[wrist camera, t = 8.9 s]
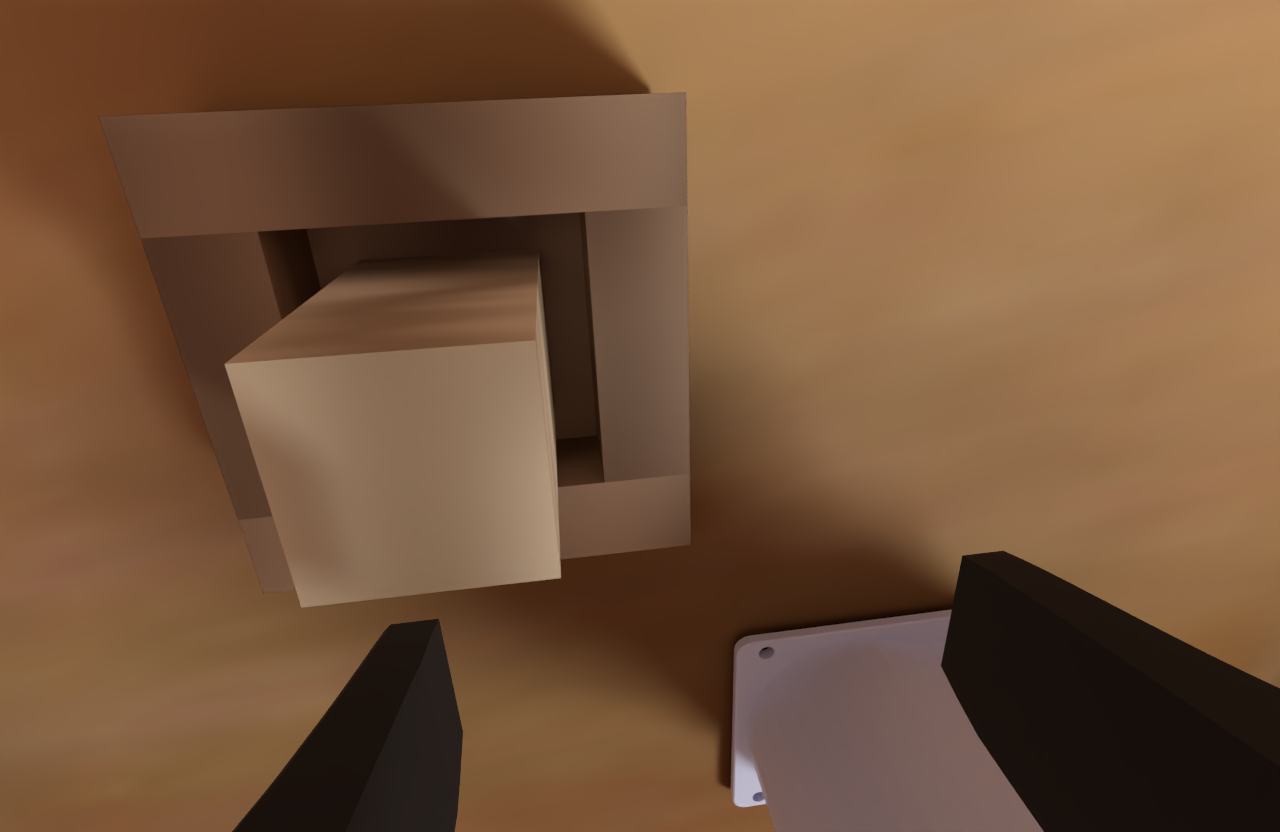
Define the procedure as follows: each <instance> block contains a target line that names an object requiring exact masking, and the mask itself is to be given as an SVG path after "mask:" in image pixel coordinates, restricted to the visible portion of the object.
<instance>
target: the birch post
mask: <svg viewBox="0 0 1280 832" xmlns="http://www.w3.org/2000/svg"><path fill="white" fill-rule="evenodd" d="M225 367H226V370H227V374H228V377H229V380H230V383H231V386H232V389H233V393H234V396H235V399H236V402H237V405H238V408H239V412H240V415H241V418H242V421H243V424H244V427H245V430H246V434H247V437H248V440H249V443H250V446H251V449H252V453H253V456H254V459H255V462H256V465H257V468H258V472H259V475H260V478H261V481H262V484H263V487H264V490H265V494H266V497H267V500H268V503H269V506H270V509H271V513H272V516H273V519H274V522H275V525H276V528H277V532H278V535H279V538H280V541H281V544H282V547H283V550H284V554H285V557H286V560H287V563H288V566H289V569H290V573H291V576H292V579H293V582H294V585H295V588H296V592H297V595H298V598H299V601H300V604H301V607H302V608H303V607H312V606H321V605H330V604H338V603H347V602H356V601H365V600H373V599H382V598H391V597H400V596H408V595H417V594H426V593H435V592H444V591H452V590H461V589H470V588H479V587H487V586H496V585H505V584H514V583H522V582H531V581H540V580H549V579H557V578H561V563H560V536H559V510H558V484H557V457H556V431H555V406H554V396H553V386H552V376H551V366H550V356H549V346H548V336H547V326H546V316H545V306H544V296H543V286H542V276H541V266H540V256H539V249H530V250H514V251H498V252H482V253H466V254H449V255H433V256H417V257H401V258H385V259H369V260H360V261H358V262H357V263H356V264H354V265H353V266H352V267H350V268H349V269H348V270H347V271H345V272H344V273H343V274H341V275H340V276H339V277H337V278H336V279H335V280H333V281H332V282H331V283H330V284H328V285H327V286H326V287H324V288H323V289H322V290H320V291H319V292H318V293H316V294H315V295H314V296H313V297H311V298H310V299H309V300H307V301H306V302H305V303H303V304H302V305H301V306H300V307H298V308H297V309H296V310H294V311H293V312H292V313H290V314H289V315H288V316H286V317H285V318H284V319H283V320H281V321H280V322H279V323H277V324H276V325H275V326H273V327H272V328H271V329H269V330H268V331H267V332H266V333H264V334H263V335H262V336H260V337H259V338H258V339H256V340H255V341H254V342H252V343H251V344H250V345H249V346H247V347H246V348H245V349H243V350H242V351H241V352H239V353H238V354H237V355H236V356H234V357H233V358H232V359H230V360H229V361H228V362H226V363H225Z"/></svg>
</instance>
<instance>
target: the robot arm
mask: <svg viewBox="0 0 1280 832" xmlns="http://www.w3.org/2000/svg"><path fill="white" fill-rule="evenodd" d="M765 647H769V648H767V649H766V650H761V649H763V648H765ZM462 738H463V730H462V726H461V721H460V716H459V712H458V707H457V702H456V698H455V693H454V688H453V684H452V679H451V674H450V670H449V665H448V660H447V655H446V651H445V646H444V641H443V637H442V632H441V627H440V623H439V619H433V620H425V621H417V622H409V623H400V624H392V625H390V626H389V627H388V628H387V629H386V630H385V631H384V632H383V634H382V635H381V636H380V638H379V639H378V641H377V642H376V643H375V645H374V646H373V648H372V649H371V650H370V652H369V653H368V655H367V656H366V658H365V659H364V660H363V662H362V663H361V665H360V666H359V667H358V669H357V670H356V672H355V673H354V675H353V676H352V677H351V679H350V680H349V682H348V683H347V684H346V686H345V687H344V689H343V690H342V691H341V693H340V694H339V695H338V697H337V698H336V699H335V701H334V702H333V704H332V705H331V706H330V708H329V709H328V710H327V712H326V713H325V715H324V716H323V717H322V719H321V720H320V721H319V723H318V724H317V725H316V727H315V728H314V729H313V730H312V732H311V733H310V734H309V736H308V737H307V738H306V740H305V741H304V742H303V744H302V745H301V746H300V748H299V749H298V750H297V751H296V753H295V754H294V755H293V757H292V758H291V759H290V761H289V762H288V763H287V765H286V766H285V767H284V769H283V770H282V771H281V772H280V774H279V775H278V776H277V778H276V779H275V780H274V781H273V783H272V784H271V785H270V786H269V788H268V789H267V790H266V791H265V793H264V794H263V795H262V796H261V798H260V799H259V800H258V801H257V802H256V804H255V805H254V806H253V807H252V808H251V810H250V811H249V812H248V813H247V814H246V816H245V817H244V818H243V819H242V821H241V822H240V823H239V824H238V825H237V827H236V828H235V829H234V830H233V831H232V832H454V831H455V825H456V819H457V812H458V798H459V785H460V771H461V754H462ZM731 795H732V799H733V802H734V804H735V805H737V806H740V807H748V806H755V805H761V804H767V807H768V810H769V813H770V817H771V820H772V823H773V826H774V829H775V832H1280V688H1278V687H1275V686H1273V685H1271V684H1269V683H1267V682H1265V681H1263V680H1261V679H1258V678H1256V677H1254V676H1252V675H1250V674H1248V673H1246V672H1244V671H1241V670H1239V669H1237V668H1235V667H1233V666H1231V665H1229V664H1227V663H1225V662H1223V661H1221V660H1219V659H1217V658H1215V657H1213V656H1211V655H1209V654H1207V653H1205V652H1203V651H1201V650H1199V649H1197V648H1195V647H1193V646H1191V645H1189V644H1187V643H1185V642H1183V641H1181V640H1179V639H1177V638H1175V637H1173V636H1171V635H1169V634H1167V633H1165V632H1163V631H1161V630H1160V629H1158V628H1156V627H1154V626H1152V625H1150V624H1148V623H1146V622H1144V621H1142V620H1140V619H1138V618H1136V617H1134V616H1132V615H1130V614H1129V613H1127V612H1125V611H1123V610H1121V609H1119V608H1117V607H1115V606H1113V605H1111V604H1109V603H1107V602H1105V601H1104V600H1102V599H1100V598H1098V597H1096V596H1094V595H1092V594H1090V593H1088V592H1086V591H1084V590H1082V589H1080V588H1079V587H1077V586H1075V585H1073V584H1071V583H1069V582H1067V581H1065V580H1063V579H1061V578H1059V577H1057V576H1055V575H1053V574H1051V573H1049V572H1047V571H1045V570H1043V569H1041V568H1039V567H1037V566H1035V565H1033V564H1031V563H1029V562H1027V561H1025V560H1023V559H1020V558H1018V557H1016V556H1014V555H1011V554H1009V553H1007V552H1005V551H998V552H990V553H981V554H973V555H965V556H962V561H961V566H960V571H959V576H958V581H957V586H956V591H955V596H954V601H953V606H952V610H944V611H936V612H928V613H921V614H913V615H905V616H898V617H890V618H882V619H874V620H867V621H859V622H851V623H843V624H836V625H828V626H820V627H812V628H805V629H797V630H789V631H781V632H774V633H766V634H758V635H751V636H746V637H743V638H742V639H740V640H739V641H738V642H737V643H736V644H735V648H734V673H733V715H732V756H731Z"/></svg>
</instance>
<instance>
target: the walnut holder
mask: <svg viewBox="0 0 1280 832" xmlns="http://www.w3.org/2000/svg"><path fill="white" fill-rule="evenodd" d="M98 117H99V120H100V123H101V126H102V129H103V132H104V134H105V137H106V140H107V143H108V146H109V149H110V152H111V155H112V157H113V160H114V163H115V166H116V169H117V172H118V175H119V178H120V181H121V183H122V186H123V189H124V192H125V195H126V198H127V201H128V204H129V206H130V209H131V212H132V215H133V218H134V221H135V224H136V227H137V230H138V232H139V235H140V238H141V241H142V244H143V247H144V250H145V253H146V256H147V258H148V261H149V264H150V267H151V270H152V273H153V276H154V279H155V281H156V284H157V287H158V290H159V293H160V296H161V299H162V302H163V305H164V307H165V310H166V313H167V316H168V319H169V322H170V325H171V328H172V331H173V333H174V336H175V339H176V342H177V345H178V348H179V351H180V354H181V356H182V359H183V362H184V365H185V368H186V371H187V374H188V377H189V380H190V382H191V385H192V388H193V391H194V394H195V397H196V400H197V403H198V405H199V408H200V411H201V414H202V417H203V420H204V423H205V426H206V429H207V431H208V434H209V437H210V440H211V443H212V446H213V449H214V452H215V455H216V457H217V460H218V463H219V466H220V469H221V472H222V475H223V478H224V480H225V483H226V486H227V489H228V492H229V495H230V498H231V501H232V504H233V506H234V509H235V512H236V515H237V518H238V521H239V524H240V527H241V529H242V532H243V535H244V538H245V541H246V544H247V547H248V550H249V553H250V555H251V558H252V561H253V564H254V567H255V570H256V573H257V576H258V579H259V581H260V584H261V587H262V590H263V593H272V592H281V591H290V590H296V588H295V585H294V582H293V579H292V576H291V573H290V569H289V566H288V563H287V560H286V557H285V554H284V550H283V547H282V544H281V541H280V538H279V535H278V532H277V528H276V525H275V522H274V519H273V516H272V513H271V509H270V506H269V503H268V500H267V497H266V494H265V490H264V487H263V484H262V481H261V478H260V475H259V472H258V468H257V465H256V462H255V459H254V456H253V453H252V449H251V446H250V443H249V440H248V437H247V434H246V430H245V427H244V424H243V421H242V418H241V415H240V412H239V408H238V405H237V402H236V399H235V396H234V393H233V389H232V386H231V383H230V380H229V377H228V374H227V370H226V367H225V363H226V362H228V361H229V360H230V359H232V358H233V357H234V356H236V355H237V354H238V353H239V352H241V351H242V350H243V349H245V348H246V347H247V346H249V345H250V344H251V343H252V342H254V341H255V340H256V339H258V338H259V337H260V336H262V335H263V334H264V333H266V332H267V331H268V330H269V329H271V328H272V327H273V326H275V325H276V324H277V323H279V322H280V321H281V320H283V319H284V318H285V317H286V316H288V315H289V314H290V313H292V312H293V311H294V310H296V309H297V308H298V307H300V306H301V305H302V304H303V303H305V302H306V301H307V300H309V299H310V298H311V297H313V296H314V295H315V294H316V293H318V292H319V291H320V290H322V289H323V288H324V287H326V286H327V285H328V284H330V283H331V282H332V281H333V280H335V279H336V278H337V277H339V276H340V275H341V274H343V273H344V272H345V271H347V270H348V269H349V268H350V267H352V266H353V265H354V264H356V263H357V262H358V261H360V260H369V259H385V258H401V257H417V256H433V255H449V254H466V253H482V252H498V251H514V250H530V249H539V256H540V266H541V276H542V286H543V296H544V306H545V316H546V326H547V336H548V346H549V356H550V366H551V376H552V386H553V396H554V406H555V431H556V457H557V484H558V510H559V536H560V560H562V559H571V558H580V557H589V556H598V555H606V554H615V553H624V552H633V551H642V550H651V549H659V548H668V547H677V546H686V545H691V517H690V423H689V328H688V234H687V140H686V92H677V93H653V94H629V95H604V96H580V97H556V98H532V99H508V100H484V101H459V102H435V103H411V104H387V105H363V106H338V107H314V108H290V109H266V110H242V111H218V112H193V113H169V114H145V115H121V116H98Z"/></svg>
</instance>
